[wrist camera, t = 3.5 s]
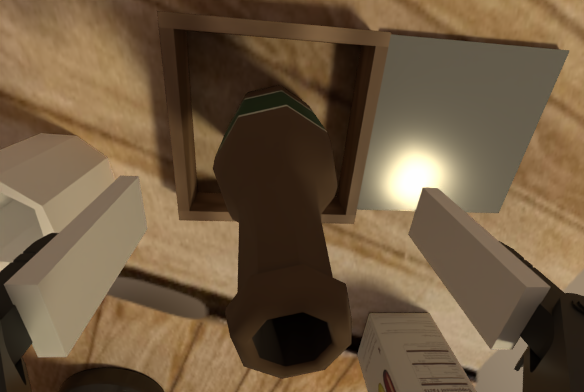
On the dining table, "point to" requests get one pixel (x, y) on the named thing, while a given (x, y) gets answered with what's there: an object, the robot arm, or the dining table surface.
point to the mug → (46, 188)
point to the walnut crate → (176, 24)
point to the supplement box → (408, 356)
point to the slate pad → (454, 121)
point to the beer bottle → (282, 236)
